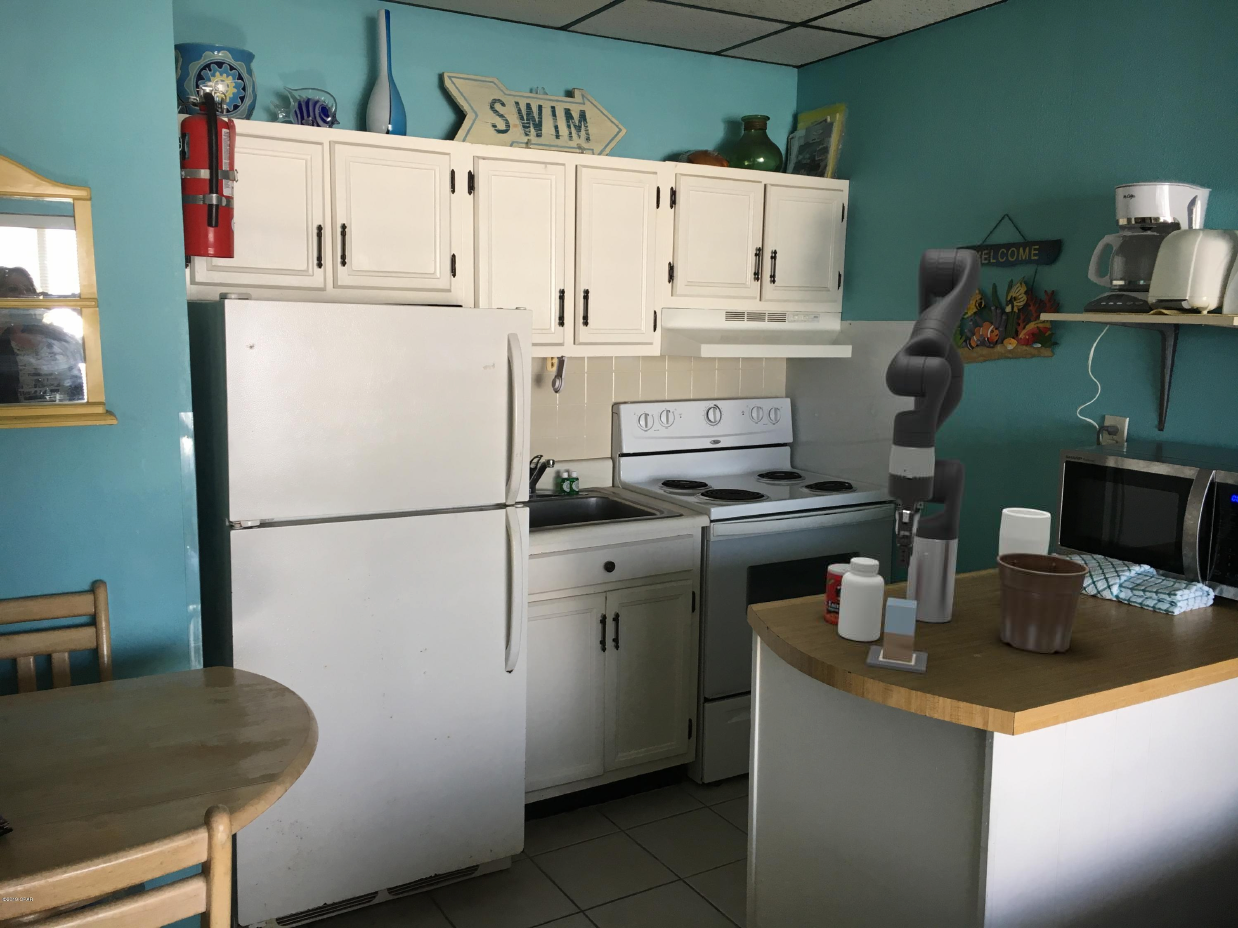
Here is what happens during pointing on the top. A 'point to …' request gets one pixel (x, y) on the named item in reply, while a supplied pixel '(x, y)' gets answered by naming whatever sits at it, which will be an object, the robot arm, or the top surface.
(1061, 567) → the plant pot
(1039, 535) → the cup
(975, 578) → the top surface
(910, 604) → the blue block
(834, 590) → the canned food
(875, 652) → the mat
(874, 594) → the pill bottle
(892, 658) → the walnut block
